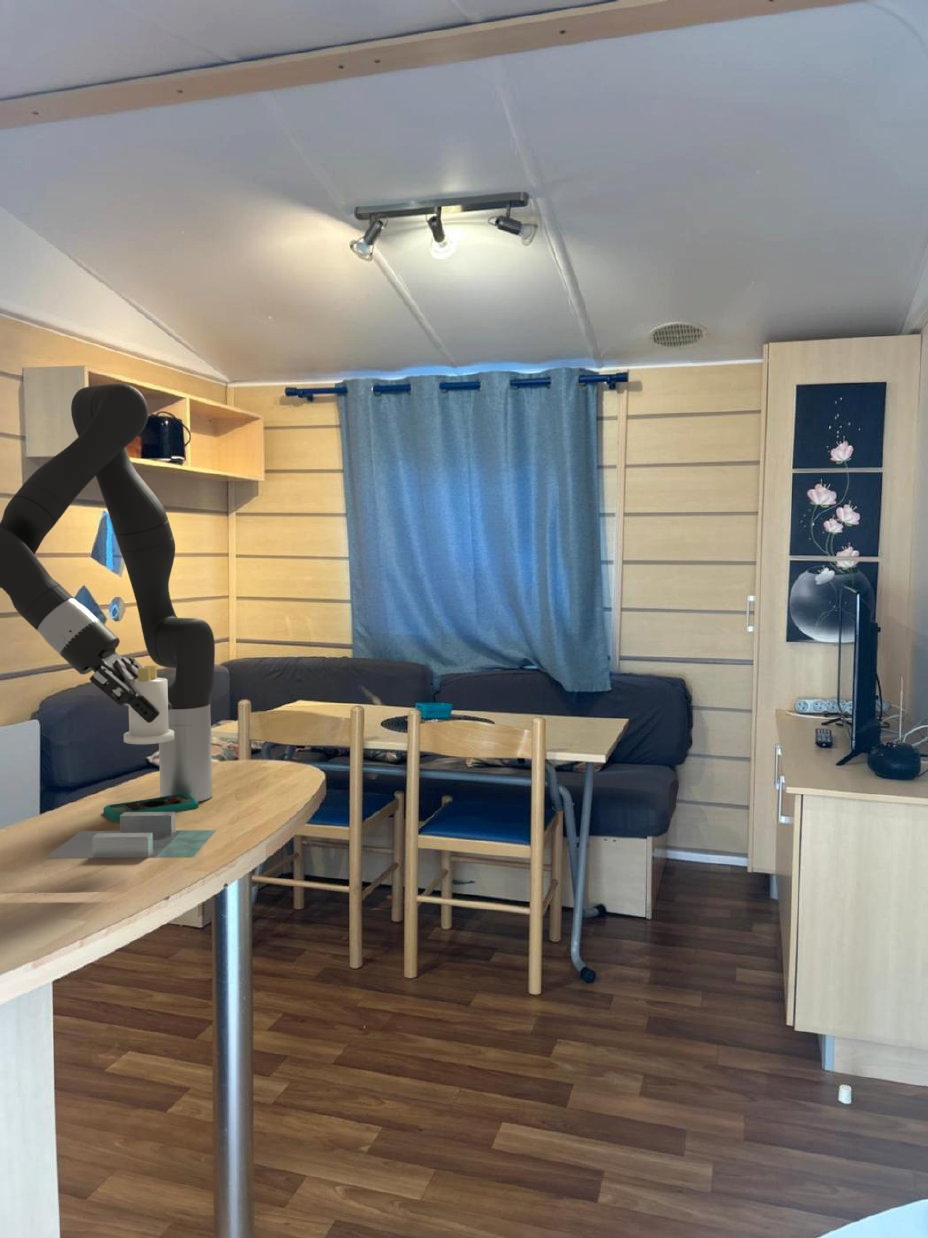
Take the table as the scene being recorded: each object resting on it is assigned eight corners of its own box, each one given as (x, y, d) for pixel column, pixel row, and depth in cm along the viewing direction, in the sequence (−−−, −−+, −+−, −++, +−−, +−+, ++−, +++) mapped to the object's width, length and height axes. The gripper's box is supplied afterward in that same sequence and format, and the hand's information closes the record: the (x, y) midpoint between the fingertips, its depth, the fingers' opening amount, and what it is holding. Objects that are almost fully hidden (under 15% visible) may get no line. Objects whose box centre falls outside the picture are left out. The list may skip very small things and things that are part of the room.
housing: (80, 837, 146) (80, 812, 146) (216, 836, 146) (216, 811, 146) (44, 865, 133) (43, 837, 133) (193, 863, 133) (193, 836, 133)
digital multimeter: (202, 815, 160) (202, 799, 160) (114, 831, 151) (114, 813, 151) (187, 806, 166) (186, 790, 165) (101, 821, 157) (101, 804, 156)
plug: (136, 734, 142) (134, 663, 141) (181, 735, 142) (179, 664, 141) (115, 744, 135) (113, 669, 134) (162, 744, 135) (161, 670, 134)
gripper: (77, 621, 130) (164, 705, 131) (113, 615, 144) (191, 690, 145) (40, 659, 130) (128, 742, 131) (80, 649, 144) (158, 723, 145)
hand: (161, 714), depth 138 cm, fingers closed on plug, 5 cm apart
